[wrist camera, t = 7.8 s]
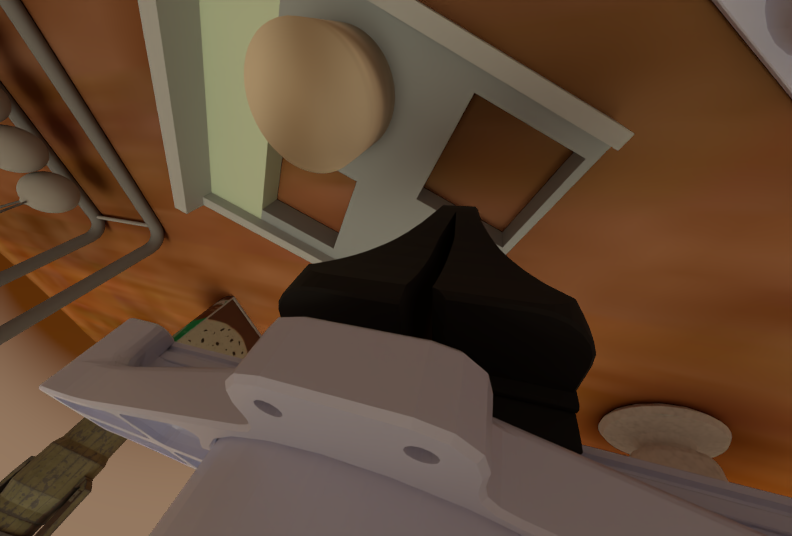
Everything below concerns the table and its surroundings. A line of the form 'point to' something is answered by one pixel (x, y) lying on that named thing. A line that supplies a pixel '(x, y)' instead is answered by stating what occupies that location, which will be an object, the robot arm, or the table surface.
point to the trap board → (382, 162)
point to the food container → (221, 329)
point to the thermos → (54, 480)
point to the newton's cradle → (59, 181)
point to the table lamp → (668, 436)
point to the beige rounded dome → (318, 90)
